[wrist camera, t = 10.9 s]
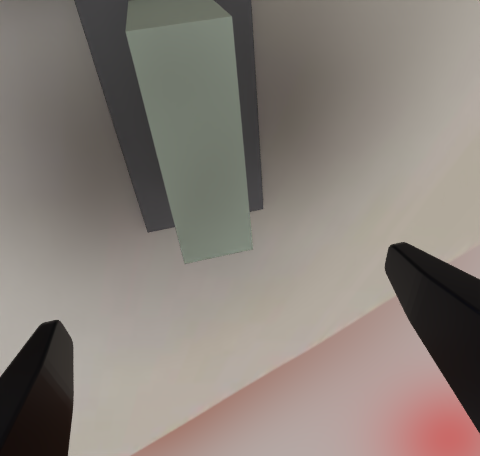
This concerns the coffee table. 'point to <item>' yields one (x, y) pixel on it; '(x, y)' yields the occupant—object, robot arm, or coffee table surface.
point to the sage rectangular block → (194, 120)
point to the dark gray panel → (133, 110)
